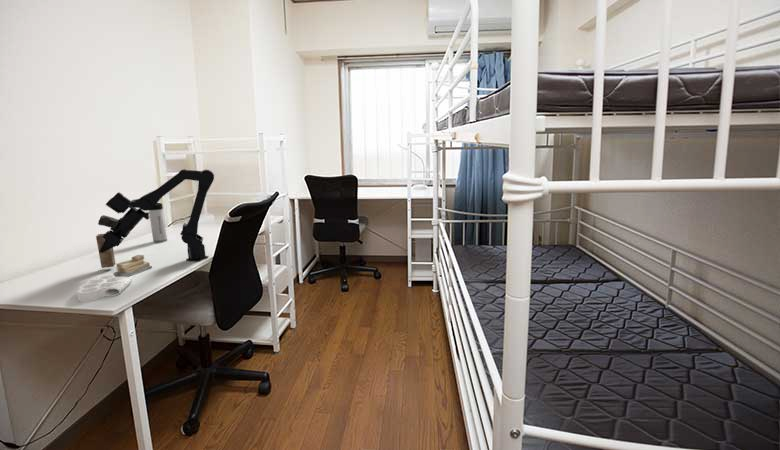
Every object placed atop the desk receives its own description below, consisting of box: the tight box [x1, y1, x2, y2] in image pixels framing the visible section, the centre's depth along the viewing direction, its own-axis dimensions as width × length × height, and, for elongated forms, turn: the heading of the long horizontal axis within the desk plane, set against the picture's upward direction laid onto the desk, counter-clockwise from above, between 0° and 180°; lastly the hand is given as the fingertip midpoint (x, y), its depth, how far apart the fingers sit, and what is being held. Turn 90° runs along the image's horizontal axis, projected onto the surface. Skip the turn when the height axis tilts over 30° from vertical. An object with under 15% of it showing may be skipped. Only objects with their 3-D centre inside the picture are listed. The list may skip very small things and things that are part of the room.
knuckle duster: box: [74, 274, 133, 302], centre depth 142 cm, size 3×18×15 cm
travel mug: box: [148, 202, 168, 244], centre depth 208 cm, size 6×7×20 cm
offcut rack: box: [112, 254, 153, 277], centre depth 162 cm, size 7×11×6 cm, turn 161°
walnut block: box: [95, 233, 117, 269], centre depth 165 cm, size 4×4×13 cm
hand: (102, 250), depth 164 cm, fingers closed on walnut block, 4 cm apart
